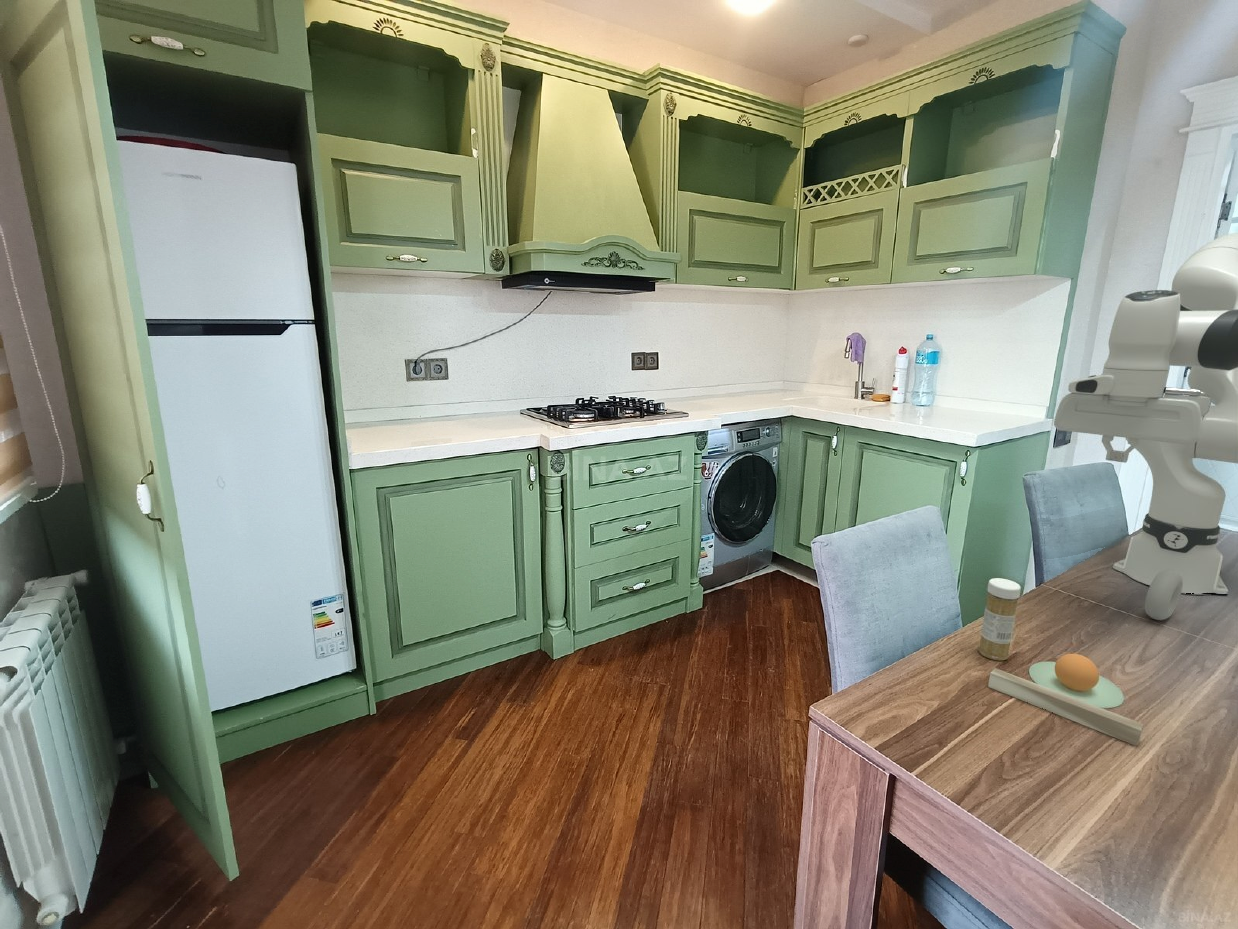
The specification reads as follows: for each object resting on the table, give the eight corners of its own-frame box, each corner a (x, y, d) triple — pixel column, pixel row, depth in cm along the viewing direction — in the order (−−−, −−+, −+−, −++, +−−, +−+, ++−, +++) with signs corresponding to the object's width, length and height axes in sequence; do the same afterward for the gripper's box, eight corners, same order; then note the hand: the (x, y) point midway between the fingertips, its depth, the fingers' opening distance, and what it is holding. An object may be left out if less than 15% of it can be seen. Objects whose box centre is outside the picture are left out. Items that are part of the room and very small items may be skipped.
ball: (1061, 641, 94) (1051, 664, 91) (1105, 655, 90) (1095, 680, 87) (1058, 664, 96) (1048, 688, 93) (1101, 679, 92) (1092, 704, 89)
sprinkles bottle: (1004, 650, 103) (1016, 579, 99) (1011, 664, 98) (1025, 590, 95) (974, 645, 104) (985, 575, 101) (980, 659, 100) (992, 586, 97)
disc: (1039, 654, 101) (1040, 653, 101) (1129, 685, 93) (1130, 684, 93) (1019, 682, 93) (1019, 681, 93) (1115, 719, 85) (1116, 718, 85)
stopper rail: (992, 681, 94) (994, 667, 93) (1139, 739, 81) (1143, 724, 80) (988, 686, 92) (990, 672, 92) (1137, 746, 79) (1141, 730, 79)
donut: (1160, 629, 109) (1173, 580, 107) (1137, 622, 112) (1148, 573, 110) (1178, 615, 115) (1190, 568, 112) (1155, 608, 118) (1166, 562, 115)
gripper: (1215, 388, 99) (1196, 468, 102) (1067, 379, 113) (1054, 449, 117) (1212, 391, 95) (1192, 474, 98) (1059, 382, 109) (1046, 454, 113)
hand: (1116, 461), depth 107 cm, fingers closed
